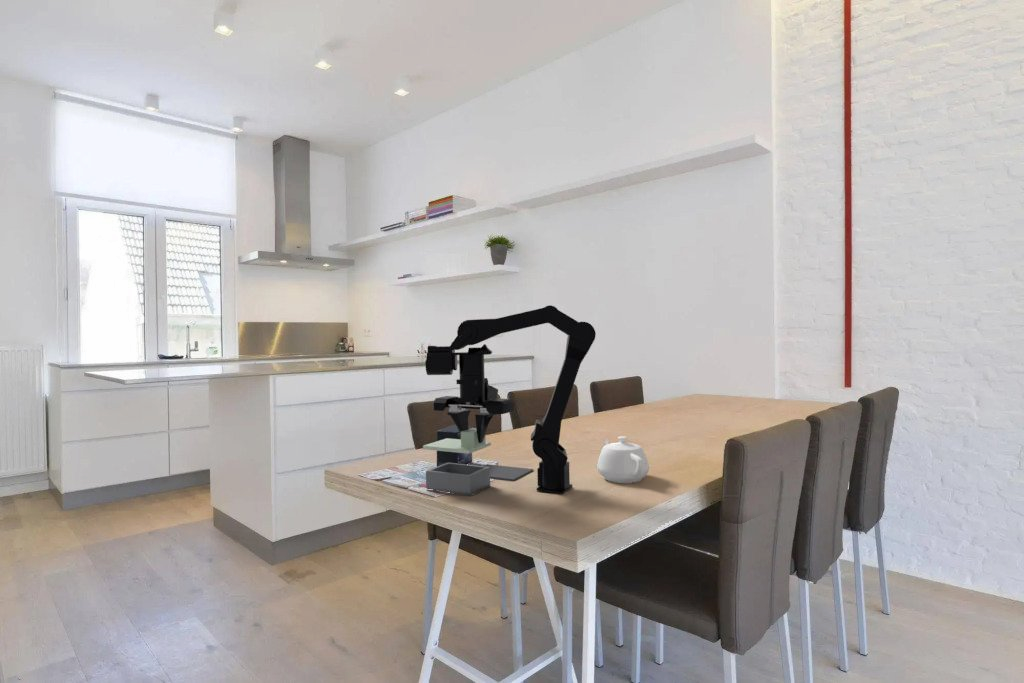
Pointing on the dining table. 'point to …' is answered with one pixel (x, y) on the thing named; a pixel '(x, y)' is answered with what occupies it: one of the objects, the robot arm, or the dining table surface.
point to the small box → (451, 457)
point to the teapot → (622, 462)
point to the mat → (507, 472)
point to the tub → (458, 478)
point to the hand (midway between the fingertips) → (473, 442)
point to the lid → (460, 443)
